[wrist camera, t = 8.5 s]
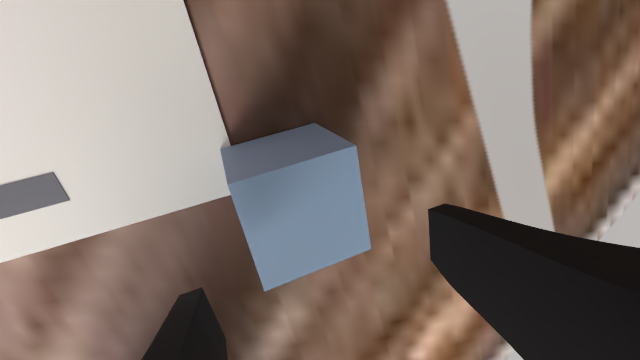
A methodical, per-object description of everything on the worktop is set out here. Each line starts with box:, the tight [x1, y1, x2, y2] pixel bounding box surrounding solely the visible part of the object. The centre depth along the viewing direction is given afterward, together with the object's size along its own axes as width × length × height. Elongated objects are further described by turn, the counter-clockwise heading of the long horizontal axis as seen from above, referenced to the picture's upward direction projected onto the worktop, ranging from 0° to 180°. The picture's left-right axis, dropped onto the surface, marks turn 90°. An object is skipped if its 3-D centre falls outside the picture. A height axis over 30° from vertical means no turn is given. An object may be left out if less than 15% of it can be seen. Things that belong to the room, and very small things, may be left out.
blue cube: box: [220, 123, 371, 291], centre depth 15 cm, size 5×5×5 cm
